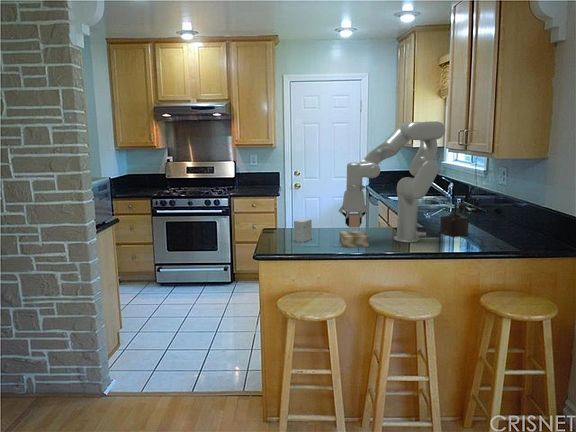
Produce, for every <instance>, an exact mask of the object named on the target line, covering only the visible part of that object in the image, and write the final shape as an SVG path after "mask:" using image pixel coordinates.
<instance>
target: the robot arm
mask: <svg viewBox="0 0 576 432" xmlns="http://www.w3.org/2000/svg"><path fill="white" fill-rule="evenodd" d="M445 134H446V126H445V125H444V123H442V122H441V121H437V120H436V121H434V120H433V121H431V120H430V121H406V122H403V123H401V124H400V125H399V126H398V127H396V129H394V131H393V132H392V133H391V134H390V135H389V136H388V137H387V138H386V139H385V140H384V141H383V142H382V143H381V144H379V145H378V146H376V147H375V148H373V149H372V150H371V151H370V152H368V153H367V154H366V155H365V156H364V157H363V158H362V159H361V161H359V162H356V161H355V162H354V161H353V162H348V163H347V164H346V187H345V188H346V190H345V191H344V193H343V202H342V206H340V208H339V209H338V212H339V213H340V214H341V215H343V216H344V217H345V219H344V220H345V222H344V223H345V225H346V226H347V227H348V226H349V217H348V216H349V213H358V214H359V215H360V227H361V225H362V223H363V220H362V219H363V218H364V217H365V215H366V214H367V213H369V211H370V210H369V208H368V207H367V205H366V204H365V203H366V201H365V192H364V190H365V189H366V186H365V185H363V178H368V179H374V178H376V177H378V176H379V175H380V173H381V167H380V165H379V164H380V163H382V162H383V161H385V160H387V159H390V158H393V157H394V156H396V155H397V154H398V153H400V152H401V150H402V149H403V148H404V147H405V146H406V145H407V144H408V143H409V142H410V141H419V142H420V143H419V144H420V145H419V148H418V150H417V152H416V154H415V156H414V157H413V158H412V161H411V163H410V165H409V169H408V171H409V173H410V174H411V175H412V176H413V177H410V176H408V177H407V176H406V177H402V178H401V179H400V180H399V181H398V182H397V186H396V194H397V223H396V225H397V227H396V228H397V229H396V235H395V236H393V240H394V241H396V242H401V243H406V244H407V243H409V244H410V243H417V242H419V241H420V240H421V239H420V237H426V236H427V232H426V231H425V232H422V231H418V230H417V229H418V227H417V226H418V208H419V207H418V206H419V205H418V204H419V203H418V200H420V199H423V198H424V197H425V196H426V195H427V194H428V191H429V189H430V188H431V186H432V184H433V183H434V181H435V179H436V177H437V174H438V171H439V167H438V164H437V162H436V161H435V160H434V158H435V156H436V154H437V152H438V141H437V140H440V139H442V138H443V137H444V135H445Z"/></svg>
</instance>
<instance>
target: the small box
mask: <svg viewBox="0 0 576 432" xmlns="http://www.w3.org/2000/svg"><path fill="white" fill-rule="evenodd" d="M312 225H313V223H312V219H311V218H310V219H309V218H304V217H302V218H299V219H295V220H293V232H294V233H293V237H294V238H293V239H294V241H295V242H299V243H304V242H308V241H310V240H312V237H313V236H312V233H313V230H312V229H313V228H312V227H313V226H312Z"/></svg>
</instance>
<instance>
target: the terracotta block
mask: <svg viewBox="0 0 576 432" xmlns="http://www.w3.org/2000/svg"><path fill="white" fill-rule="evenodd" d="M348 217H349V226H347V227H348V228H349V229H350V228H351V229H352V228H353V229H354V228H356V229H357V228H358V229H359V228H360V227H361V226H360V215H359V214H358V212H350V213H349V216H348Z"/></svg>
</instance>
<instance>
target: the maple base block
mask: <svg viewBox="0 0 576 432" xmlns="http://www.w3.org/2000/svg"><path fill="white" fill-rule="evenodd" d="M369 237H370V236H369V235H368V234H367V233H366V232H365V231H364V230H356V231H355V230H353V231H349V230H347V231H346V230H345V231H344V230H343V231H339V243H340V244H341V246H342V247H343V248H368V247H369V246H370V244H369V240H370V239H369Z"/></svg>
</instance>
